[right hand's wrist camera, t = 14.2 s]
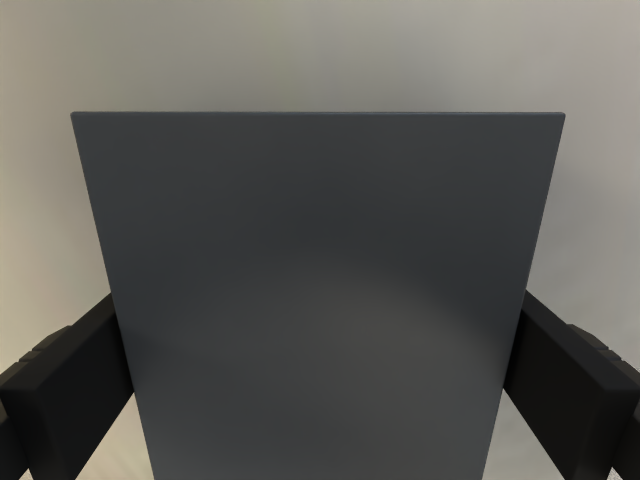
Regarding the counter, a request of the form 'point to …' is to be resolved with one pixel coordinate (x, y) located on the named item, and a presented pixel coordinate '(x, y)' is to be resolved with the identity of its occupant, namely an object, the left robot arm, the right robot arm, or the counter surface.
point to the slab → (318, 283)
